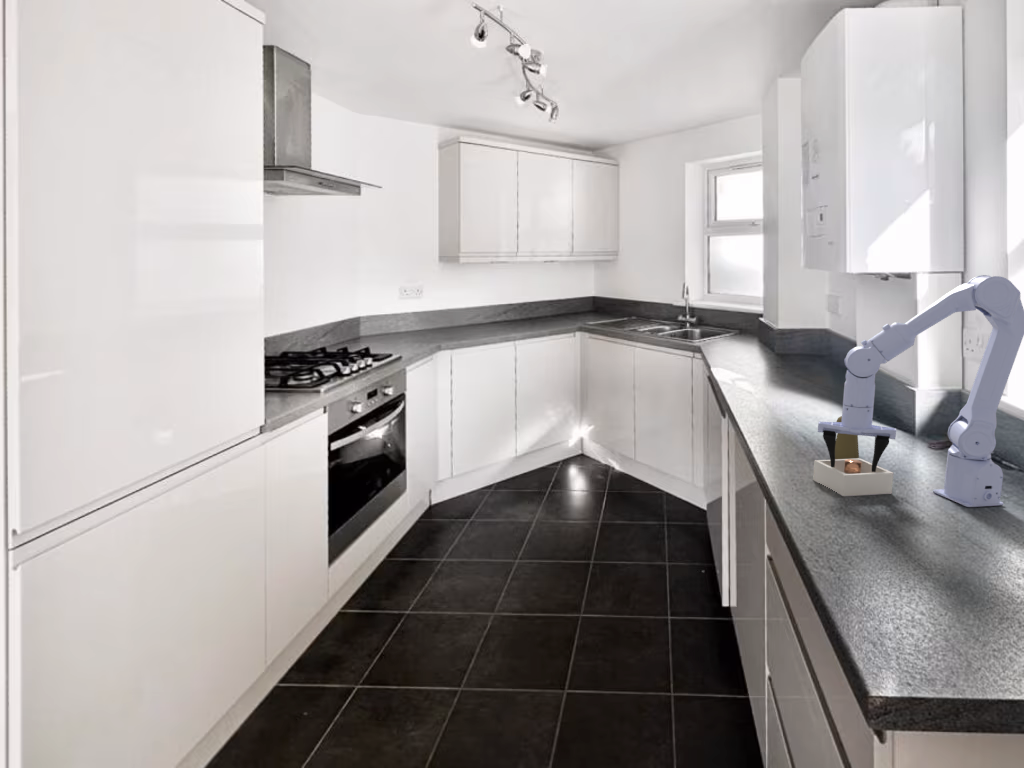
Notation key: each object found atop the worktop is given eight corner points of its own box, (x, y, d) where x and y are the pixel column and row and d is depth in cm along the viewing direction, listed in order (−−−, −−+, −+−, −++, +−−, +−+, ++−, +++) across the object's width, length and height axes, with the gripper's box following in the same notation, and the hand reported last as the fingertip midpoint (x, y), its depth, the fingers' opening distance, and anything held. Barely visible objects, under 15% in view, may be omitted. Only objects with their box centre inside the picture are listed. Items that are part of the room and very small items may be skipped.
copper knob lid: (885, 490, 144) (887, 466, 143) (844, 492, 143) (846, 468, 142) (857, 476, 153) (859, 454, 152) (818, 478, 152) (820, 456, 151)
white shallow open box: (891, 493, 144) (893, 472, 143) (843, 496, 142) (844, 475, 141) (852, 474, 156) (854, 455, 155) (807, 477, 155) (809, 457, 154)
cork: (835, 456, 170) (838, 412, 168) (862, 461, 167) (866, 416, 165) (828, 462, 166) (831, 417, 164) (855, 467, 162) (859, 420, 160)
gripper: (818, 405, 145) (814, 469, 147) (898, 411, 138) (892, 478, 141) (820, 399, 151) (816, 460, 153) (897, 405, 145) (891, 468, 147)
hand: (852, 468), depth 147 cm, fingers open, 7 cm apart
